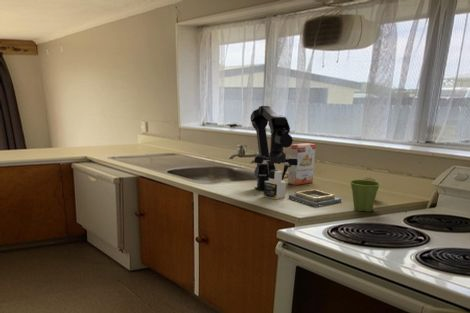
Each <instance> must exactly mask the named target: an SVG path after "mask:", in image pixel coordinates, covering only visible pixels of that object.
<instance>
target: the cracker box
mask: <svg viewBox="0 0 470 313" xmlns="http://www.w3.org/2000/svg"><path fill="white" fill-rule="evenodd" d="M315 156H316V144H314V143H310V142H308V143H307V142H305V143H292V144H291V146H290V148H289V157H296V158H297V159H298V164H297V165H291V167H288V174H287V175H288V176H287V184H290V185H293V186H298V185H306V184H310V183H311V184H312V183H313V180H314V169H315V160H316V159H315V158H316V157H315Z"/></svg>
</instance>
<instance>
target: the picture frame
mask: <svg viewBox="0 0 470 313" xmlns="http://www.w3.org/2000/svg"><path fill="white" fill-rule="evenodd" d="M289 198H290V200H292V199H293V200H292V201H295V200H297V201H296V202H298V201H300V202H299V203H301V202H304V203H303V204H305V203H307V204H306V205H308V204H310V205H309V206H311V205H313V206H312V207H314V206H318V207H320V206H319V205H324V206H327V205H326V204H329V205H333V203H334V204H337V203H338V204H339V203H342V198H340V197H336V195H335V194H334V193H333V194H332V193H329V192H325V191H322V190H318V189H315V188H314V189H307V190H301V191H296V192H295V193H294V194H289V195H288V199H289Z"/></svg>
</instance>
